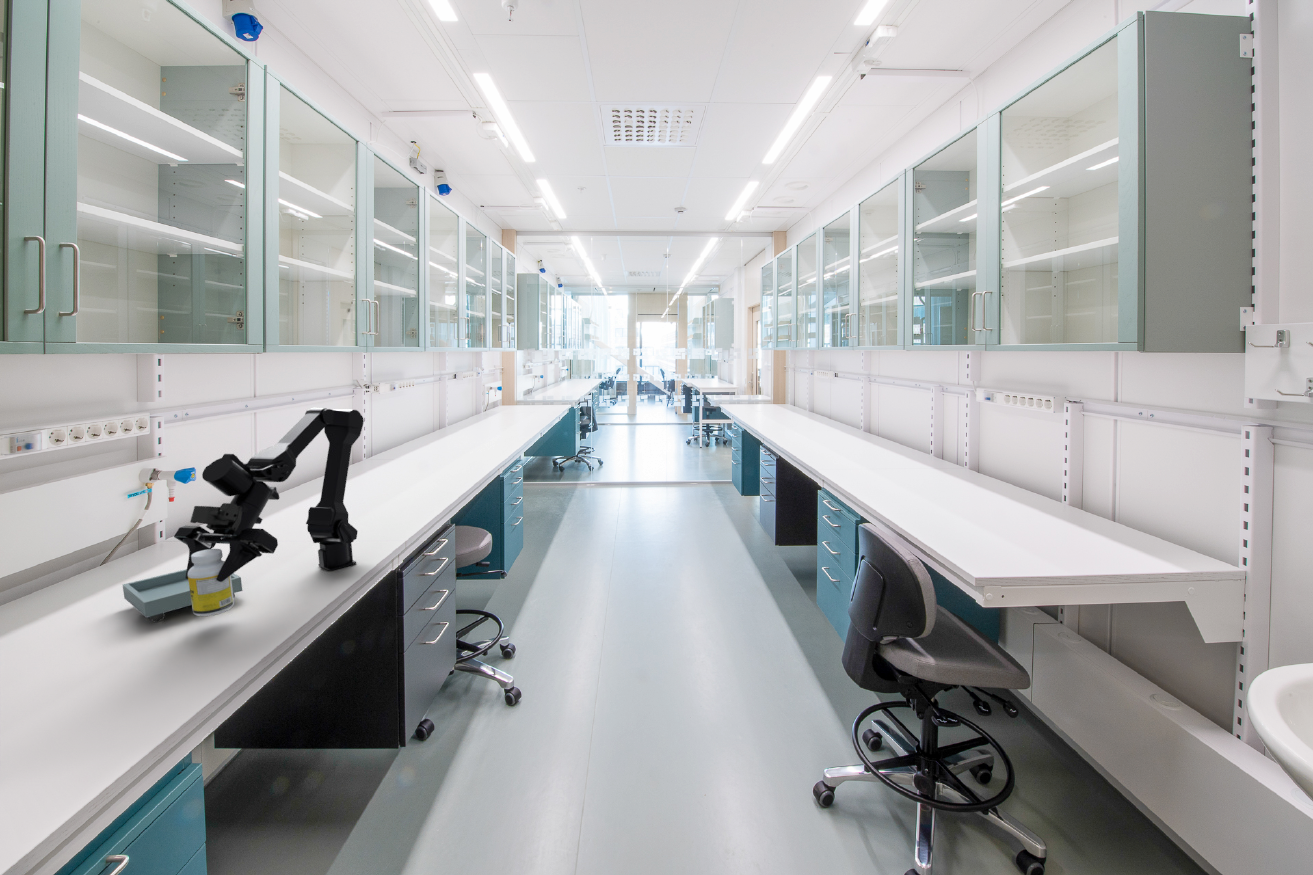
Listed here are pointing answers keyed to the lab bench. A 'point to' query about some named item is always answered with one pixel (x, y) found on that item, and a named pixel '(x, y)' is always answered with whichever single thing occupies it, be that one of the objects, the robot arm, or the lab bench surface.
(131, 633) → the lab bench surface
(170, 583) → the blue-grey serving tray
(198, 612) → the pill bottle
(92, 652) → the lab bench surface
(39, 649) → the lab bench surface
